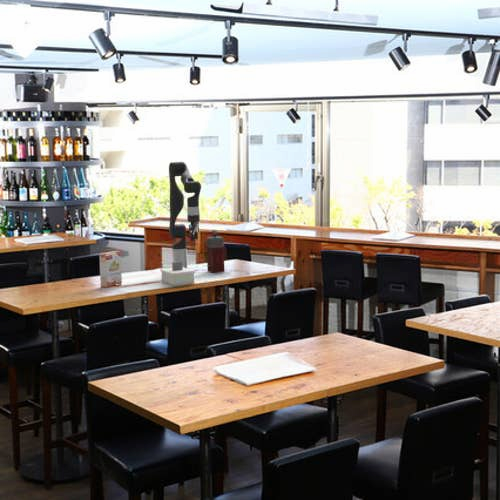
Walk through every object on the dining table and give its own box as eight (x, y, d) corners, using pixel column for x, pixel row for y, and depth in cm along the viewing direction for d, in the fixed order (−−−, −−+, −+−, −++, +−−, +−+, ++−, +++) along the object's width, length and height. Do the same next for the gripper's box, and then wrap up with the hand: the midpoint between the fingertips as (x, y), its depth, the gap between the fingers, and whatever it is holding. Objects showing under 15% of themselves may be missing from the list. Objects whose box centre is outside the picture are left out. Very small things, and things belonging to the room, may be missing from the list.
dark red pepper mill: (227, 271, 569) (226, 229, 565) (212, 273, 564) (210, 231, 560) (222, 269, 577) (221, 228, 573) (207, 271, 572) (205, 230, 568)
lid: (160, 271, 533) (160, 261, 533) (182, 268, 541) (181, 259, 540) (172, 275, 517) (172, 265, 516) (195, 272, 524) (194, 262, 523)
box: (162, 282, 534) (161, 271, 533) (182, 279, 541) (181, 269, 540) (173, 286, 519) (173, 275, 518) (194, 283, 525) (193, 272, 524)
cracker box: (107, 287, 520) (105, 254, 518) (100, 287, 524) (98, 253, 521) (122, 284, 532) (121, 251, 529) (115, 283, 535) (113, 250, 533)
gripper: (190, 212, 529) (191, 238, 531) (184, 215, 515) (185, 241, 518) (202, 212, 527) (203, 238, 530) (196, 215, 514) (197, 241, 516)
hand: (194, 240), depth 524 cm, fingers open, 8 cm apart
